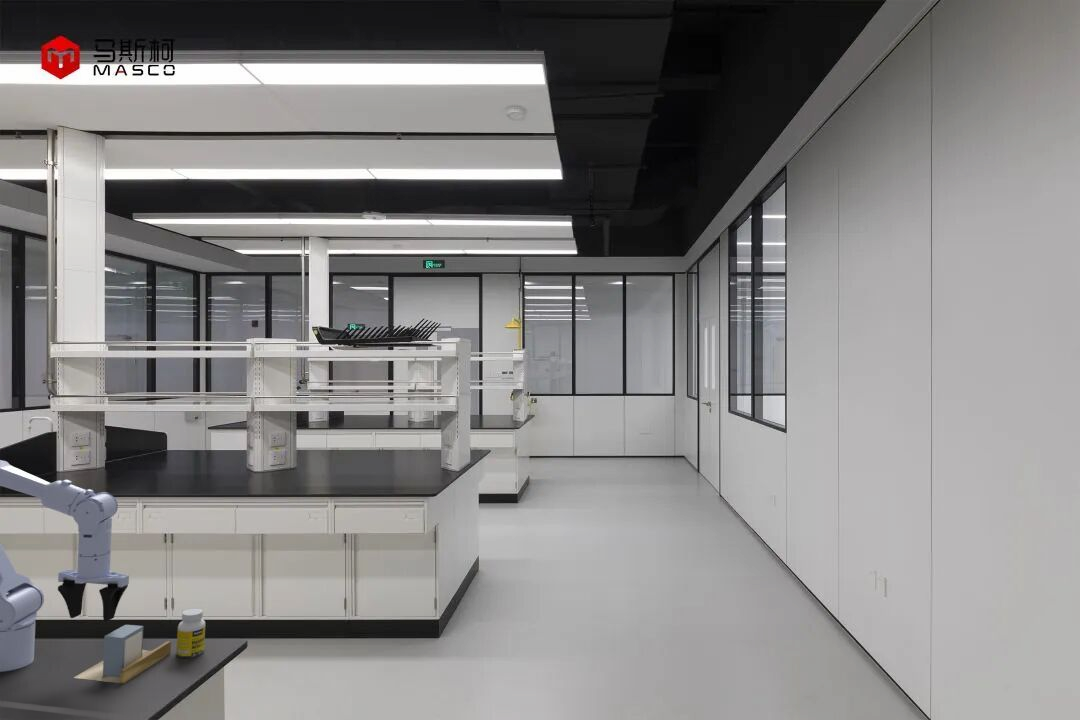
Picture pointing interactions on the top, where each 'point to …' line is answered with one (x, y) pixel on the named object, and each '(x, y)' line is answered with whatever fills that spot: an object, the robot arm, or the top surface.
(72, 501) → the robot arm
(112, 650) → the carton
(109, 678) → the shelf board
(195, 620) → the supplement bottle
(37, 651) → the top surface
